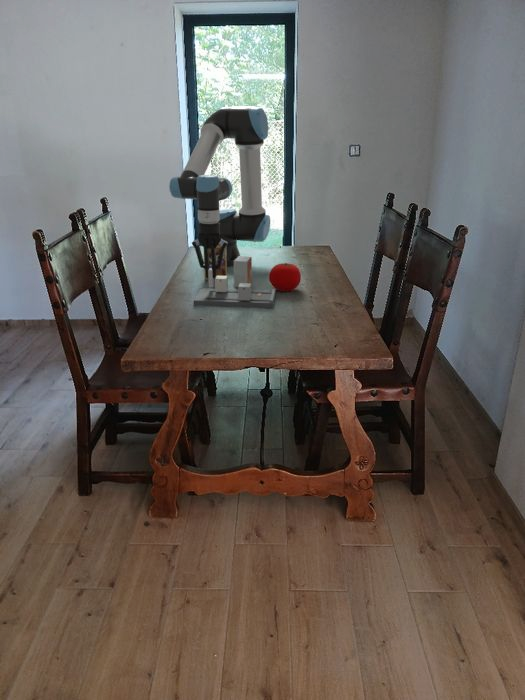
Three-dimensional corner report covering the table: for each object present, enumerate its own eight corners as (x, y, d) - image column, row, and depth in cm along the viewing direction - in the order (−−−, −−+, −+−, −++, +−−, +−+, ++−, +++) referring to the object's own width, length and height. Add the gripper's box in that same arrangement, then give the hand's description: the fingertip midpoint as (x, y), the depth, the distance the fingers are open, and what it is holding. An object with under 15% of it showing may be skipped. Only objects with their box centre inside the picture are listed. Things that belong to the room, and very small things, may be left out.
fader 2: (240, 296, 185) (239, 283, 183) (251, 296, 185) (251, 283, 183) (238, 300, 182) (238, 286, 180) (249, 300, 181) (249, 286, 179)
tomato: (295, 295, 194) (296, 268, 190) (265, 292, 198) (265, 265, 194) (304, 287, 204) (304, 261, 199) (274, 284, 208) (275, 258, 203)
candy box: (204, 280, 212) (202, 243, 205) (206, 277, 216) (204, 240, 209) (226, 281, 211) (225, 243, 205) (227, 277, 215) (226, 241, 209)
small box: (247, 288, 203) (247, 261, 199) (233, 287, 204) (233, 260, 200) (252, 282, 210) (251, 256, 206) (238, 281, 211) (238, 255, 207)
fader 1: (217, 288, 194) (216, 275, 192) (227, 288, 194) (227, 275, 192) (215, 291, 190) (214, 278, 188) (226, 292, 190) (225, 279, 188)
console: (201, 293, 196) (201, 285, 195) (275, 295, 194) (275, 288, 193) (193, 305, 184) (193, 297, 182) (272, 308, 181) (272, 300, 180)
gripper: (188, 223, 179) (191, 288, 189) (225, 224, 178) (227, 290, 188) (193, 219, 186) (196, 282, 196) (229, 220, 185) (230, 283, 194)
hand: (211, 286), depth 192 cm, fingers closed
